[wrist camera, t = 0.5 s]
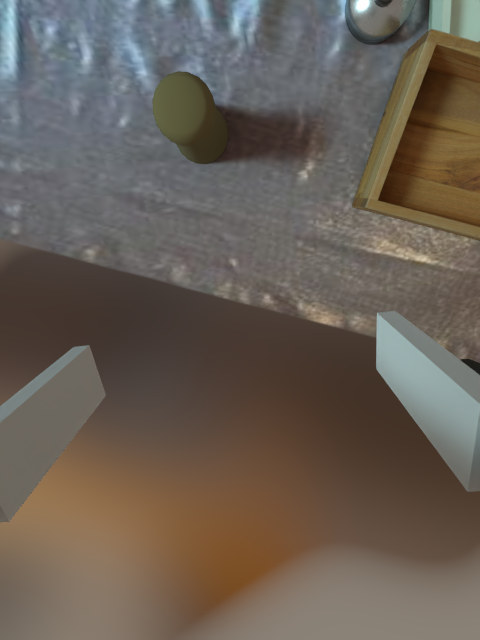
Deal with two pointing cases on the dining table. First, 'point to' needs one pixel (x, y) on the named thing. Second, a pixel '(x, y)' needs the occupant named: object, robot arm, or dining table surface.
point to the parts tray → (456, 17)
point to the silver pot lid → (376, 18)
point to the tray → (429, 140)
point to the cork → (190, 117)
